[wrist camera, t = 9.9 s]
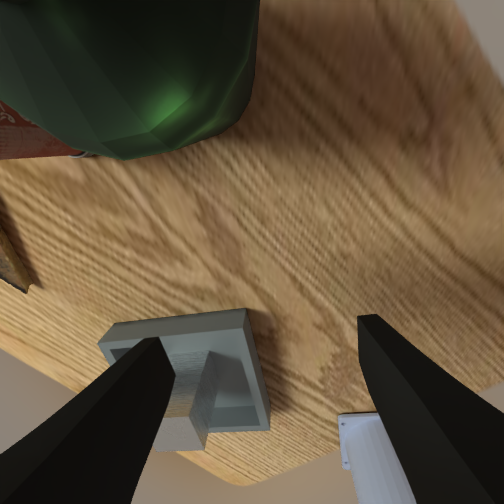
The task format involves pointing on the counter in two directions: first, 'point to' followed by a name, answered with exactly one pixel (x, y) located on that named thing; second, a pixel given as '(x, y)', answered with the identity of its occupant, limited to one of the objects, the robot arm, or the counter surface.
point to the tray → (222, 353)
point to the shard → (12, 266)
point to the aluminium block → (189, 403)
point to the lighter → (29, 138)
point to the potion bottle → (128, 70)
